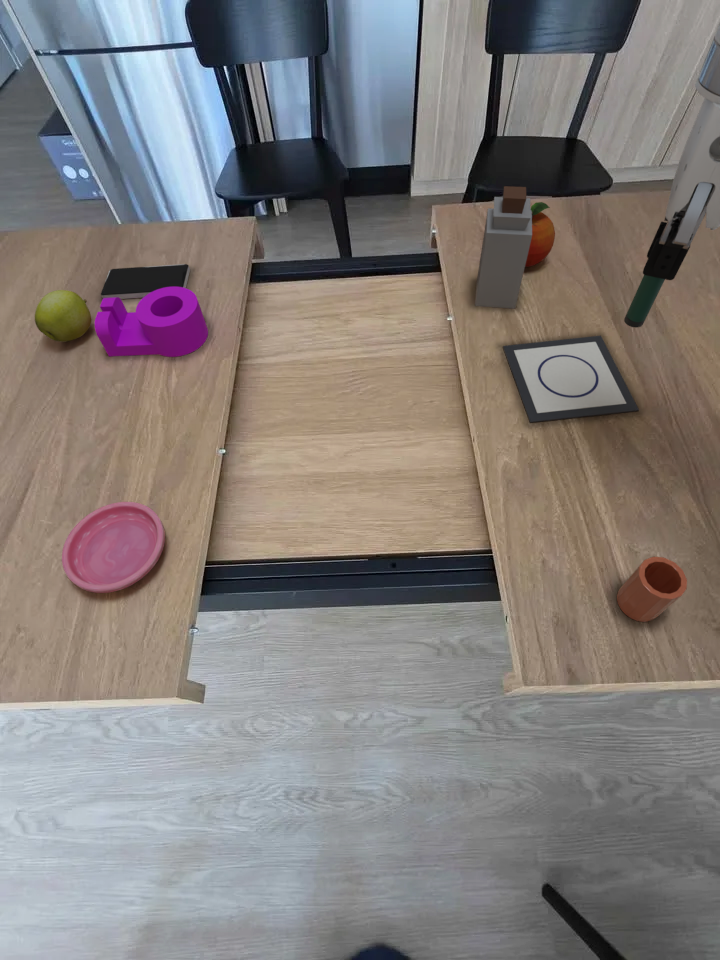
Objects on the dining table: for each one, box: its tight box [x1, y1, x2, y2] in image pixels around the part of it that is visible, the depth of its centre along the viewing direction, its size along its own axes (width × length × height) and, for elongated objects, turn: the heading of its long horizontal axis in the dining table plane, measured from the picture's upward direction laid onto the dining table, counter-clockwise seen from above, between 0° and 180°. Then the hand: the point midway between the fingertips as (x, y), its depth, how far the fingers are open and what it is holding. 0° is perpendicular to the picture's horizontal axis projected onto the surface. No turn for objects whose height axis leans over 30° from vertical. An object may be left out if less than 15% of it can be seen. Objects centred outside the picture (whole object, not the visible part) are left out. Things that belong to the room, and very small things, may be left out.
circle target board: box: [502, 335, 640, 424], centre depth 84 cm, size 16×16×1 cm
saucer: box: [61, 501, 166, 594], centre depth 70 cm, size 12×12×3 cm
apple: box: [34, 289, 92, 343], centre depth 92 cm, size 8×9×8 cm
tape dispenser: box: [94, 287, 209, 358], centre depth 91 cm, size 16×10×6 cm, turn 91°
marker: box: [623, 223, 680, 328], centre depth 61 cm, size 2×2×13 cm
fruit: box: [525, 201, 556, 268], centre depth 97 cm, size 10×10×10 cm
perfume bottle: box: [474, 185, 532, 310], centre depth 89 cm, size 7×7×18 cm
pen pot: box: [616, 556, 688, 623], centre depth 62 cm, size 5×5×7 cm
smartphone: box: [100, 263, 191, 300], centre depth 102 cm, size 8×1×15 cm
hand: (659, 266), depth 60 cm, fingers closed on marker, 2 cm apart
